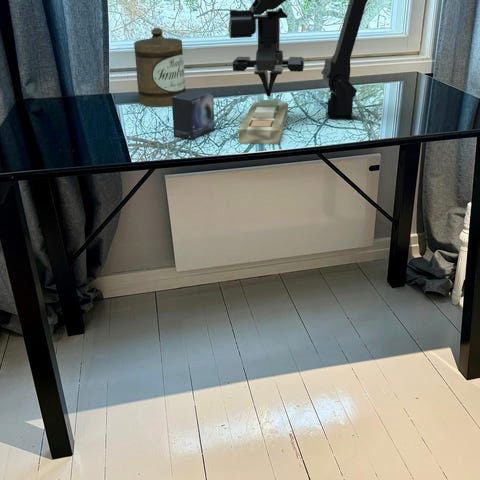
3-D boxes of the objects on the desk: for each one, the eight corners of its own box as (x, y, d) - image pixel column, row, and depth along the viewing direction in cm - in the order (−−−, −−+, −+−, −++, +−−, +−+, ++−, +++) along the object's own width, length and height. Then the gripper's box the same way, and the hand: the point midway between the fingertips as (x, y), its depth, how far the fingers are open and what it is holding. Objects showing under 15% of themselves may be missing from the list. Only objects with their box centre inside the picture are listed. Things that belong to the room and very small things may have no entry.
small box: (192, 140, 143) (190, 99, 138) (172, 136, 146) (169, 96, 141) (216, 129, 151) (214, 90, 146) (196, 126, 154) (194, 87, 149)
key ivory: (275, 116, 151) (275, 107, 150) (273, 121, 147) (273, 112, 146) (257, 116, 152) (256, 106, 151) (254, 121, 148) (254, 111, 147)
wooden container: (166, 109, 170) (160, 32, 159) (129, 103, 177) (121, 30, 166) (195, 98, 181) (191, 26, 170) (159, 93, 188) (153, 23, 177)
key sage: (278, 109, 158) (278, 100, 157) (276, 113, 154) (276, 104, 152) (260, 108, 159) (260, 99, 158) (258, 113, 154) (258, 104, 153)
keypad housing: (287, 115, 161) (288, 102, 160) (278, 144, 139) (278, 130, 137) (253, 114, 163) (253, 102, 161) (238, 142, 140) (238, 129, 139)
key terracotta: (272, 130, 146) (272, 120, 144) (270, 136, 141) (270, 126, 140) (253, 129, 146) (253, 120, 145) (250, 135, 142) (250, 125, 141)
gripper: (228, 41, 141) (230, 103, 149) (302, 41, 138) (300, 104, 146) (235, 34, 151) (237, 93, 158) (305, 34, 148) (303, 93, 155)
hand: (268, 96), depth 154 cm, fingers closed
